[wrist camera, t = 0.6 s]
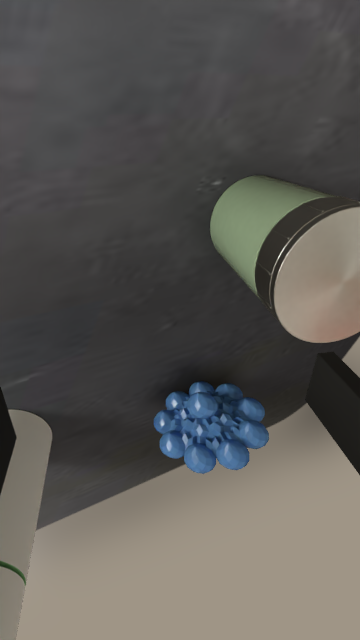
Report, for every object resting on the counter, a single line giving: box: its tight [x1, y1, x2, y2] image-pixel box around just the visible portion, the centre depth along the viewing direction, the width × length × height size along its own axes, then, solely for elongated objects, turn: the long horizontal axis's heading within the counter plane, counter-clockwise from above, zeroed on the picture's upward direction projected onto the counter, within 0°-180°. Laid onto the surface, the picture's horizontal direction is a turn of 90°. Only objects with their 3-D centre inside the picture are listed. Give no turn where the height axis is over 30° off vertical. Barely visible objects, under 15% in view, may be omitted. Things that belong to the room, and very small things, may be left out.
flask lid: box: [255, 196, 360, 343], centre depth 21 cm, size 8×8×3 cm
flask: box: [210, 175, 337, 299], centre depth 26 cm, size 8×8×14 cm
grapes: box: [154, 381, 269, 474], centre depth 35 cm, size 12×7×12 cm, turn 106°
